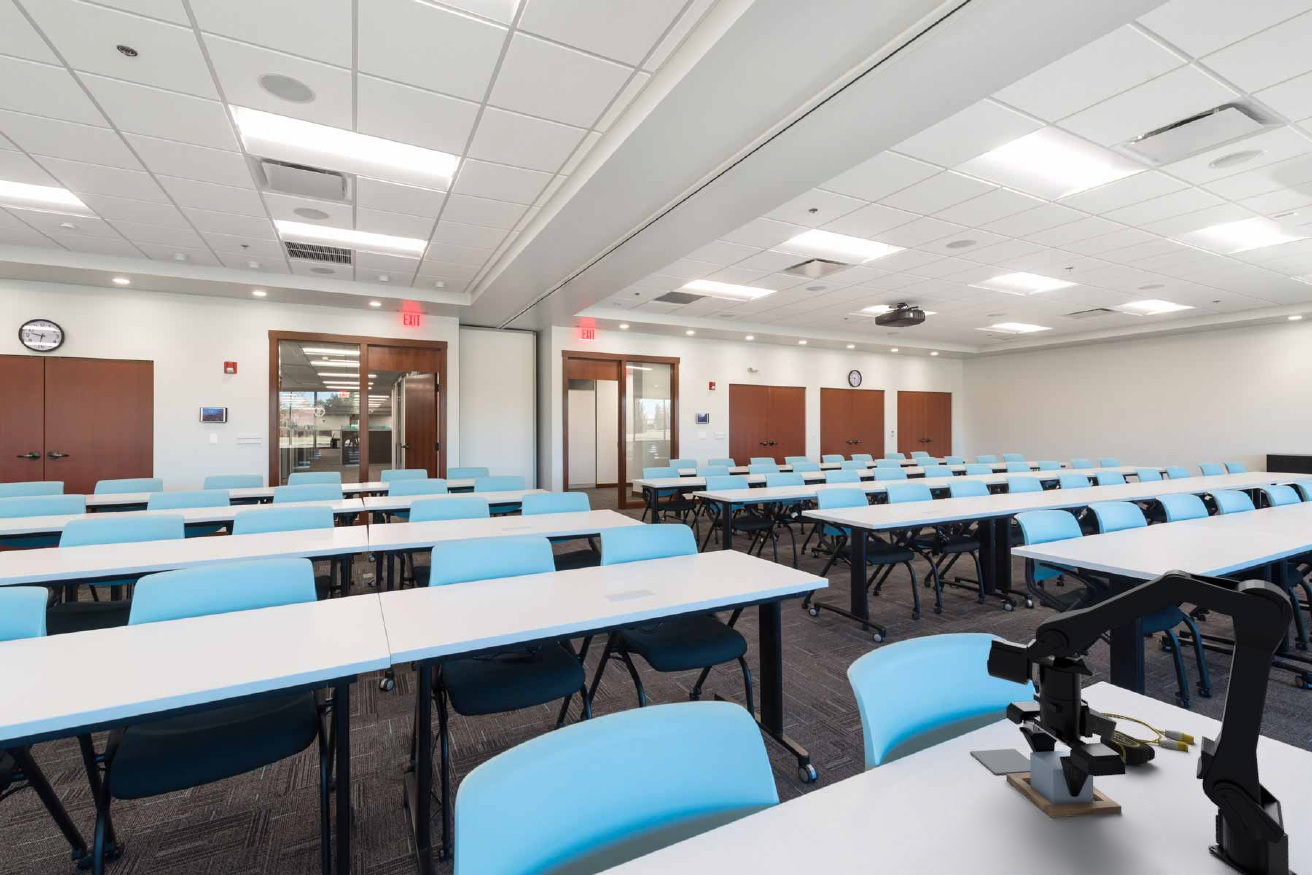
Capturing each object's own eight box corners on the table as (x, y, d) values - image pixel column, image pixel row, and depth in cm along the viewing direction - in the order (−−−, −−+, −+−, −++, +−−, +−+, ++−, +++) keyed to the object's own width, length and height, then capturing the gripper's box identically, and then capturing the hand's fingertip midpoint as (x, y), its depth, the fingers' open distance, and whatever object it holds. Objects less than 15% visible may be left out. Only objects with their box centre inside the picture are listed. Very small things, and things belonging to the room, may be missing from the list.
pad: (1042, 771, 101) (1042, 769, 101) (995, 774, 100) (995, 772, 100) (1014, 750, 108) (1014, 748, 108) (970, 752, 107) (970, 751, 107)
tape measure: (1157, 765, 103) (1157, 744, 103) (1131, 772, 101) (1131, 751, 101) (1117, 745, 109) (1117, 726, 109) (1092, 752, 107) (1091, 732, 107)
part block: (1093, 803, 92) (1093, 766, 92) (1053, 806, 92) (1053, 769, 92) (1068, 784, 97) (1068, 750, 97) (1030, 787, 97) (1030, 752, 97)
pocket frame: (1121, 812, 90) (1121, 805, 90) (1051, 817, 89) (1051, 811, 89) (1070, 775, 100) (1070, 769, 100) (1006, 779, 99) (1006, 773, 99)
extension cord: (1166, 762, 104) (1166, 751, 104) (1076, 723, 119) (1076, 713, 119) (1203, 748, 109) (1203, 738, 109) (1112, 712, 123) (1112, 703, 123)
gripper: (1158, 717, 86) (1159, 820, 86) (1060, 668, 104) (1061, 752, 104) (1090, 721, 85) (1091, 825, 85) (1003, 671, 103) (1004, 755, 103)
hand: (1061, 785), depth 94 cm, fingers closed on part block, 5 cm apart
